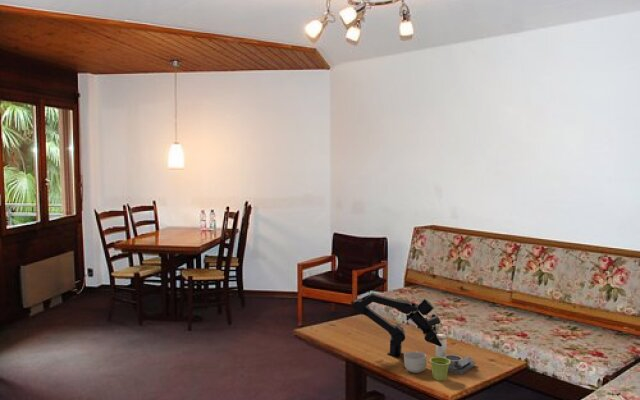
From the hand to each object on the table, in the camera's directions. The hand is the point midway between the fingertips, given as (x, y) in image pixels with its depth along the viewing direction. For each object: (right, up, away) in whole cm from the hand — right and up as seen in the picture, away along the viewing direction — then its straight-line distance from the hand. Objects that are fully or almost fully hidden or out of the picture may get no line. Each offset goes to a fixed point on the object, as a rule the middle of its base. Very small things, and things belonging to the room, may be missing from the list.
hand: (441, 343), depth 281 cm
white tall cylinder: (0, -8, +1) cm, 8 cm away
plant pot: (-7, -10, -27) cm, 29 cm away
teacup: (-16, -9, -16) cm, 24 cm away
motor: (+5, -9, -12) cm, 15 cm away
